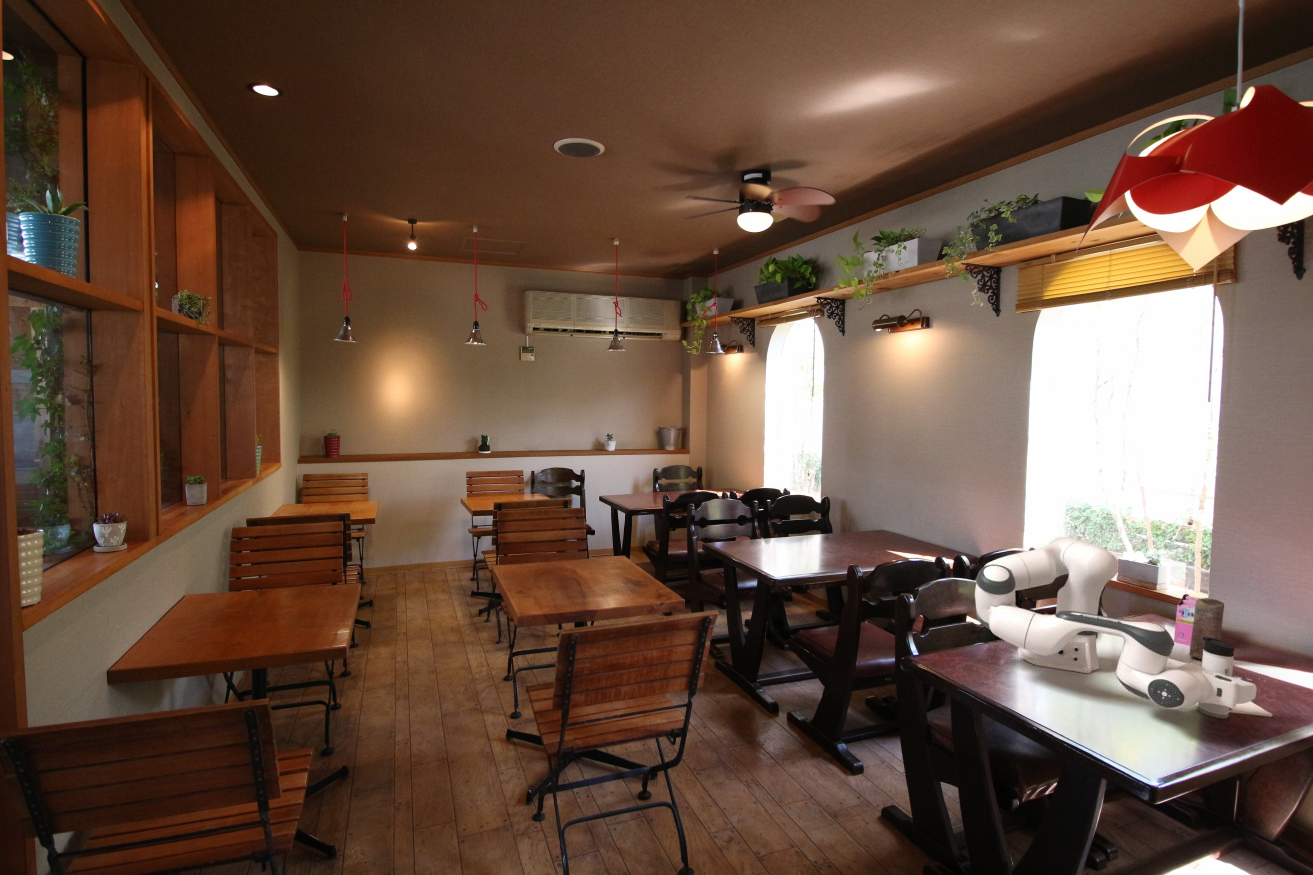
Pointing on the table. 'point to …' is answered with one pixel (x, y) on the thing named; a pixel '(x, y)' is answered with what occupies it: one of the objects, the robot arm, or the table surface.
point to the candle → (1205, 624)
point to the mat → (1249, 709)
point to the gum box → (1185, 620)
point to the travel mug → (1217, 671)
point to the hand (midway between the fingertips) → (1216, 673)
